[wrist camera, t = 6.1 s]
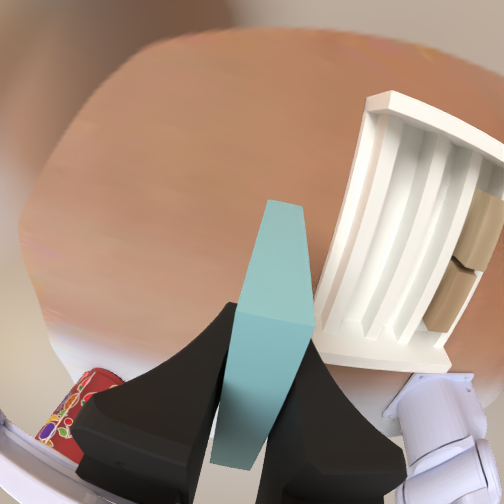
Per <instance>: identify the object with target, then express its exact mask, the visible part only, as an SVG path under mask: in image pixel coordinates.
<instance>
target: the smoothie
mask: <svg viewBox="0 0 504 504" xmlns="http://www.w3.org/2000/svg"><path fill="white" fill-rule="evenodd" d="M123 383H124V382H123V381H122V380H121V379H120V378H119V377H117V376H116V375H115V374H113V373H111V372H109V371H107V370H105V369H102V368H94V369H92V370H91V371H88V372H85V373H84V374H83V376H82V377H81V378H80V379H79V381H78V382H77V383H76V384H75V386H74V387H73V388H72V389H71V391H70V392H69V393H68V395H67V396H66V397H65V399H64V400H63V401H62V402H61V404H60V405H59V406H58V407H57V409H56V410H55V411H54V413H53V414H52V415H51V417H50V418H49V420H48V421H47V422H46V423H45V425H44V426H43V427H42V429H41V430H40V432H39V433H38V434H37V436H36V437H35V439H36V440H38V441H39V442H41V443H42V444H44V445H45V446H47V447H49V448H50V449H52V450H54V451H55V452H57V453H59V454H60V455H62V456H64V457H66V458H67V459H69V460H71V461H73V462H75V463H77V464H79V463H80V461H81V459H82V457H83V455H84V453H83V452H82V450H81V449H80V447H79V446H78V444H77V443H76V442H75V440H74V439H73V437H72V435H71V432H70V426H71V424H72V423H73V421H74V419H75V418H76V416H77V414H78V413H79V411H80V409H81V408H82V407H83V405H84V404H85V403H86V402H87V401H88V399H89V398H90V397H91V396H92V395H93V394H94V393H98V392H101V391H104V390H107V389H109V388H112V387H115V386H118V385H121V384H123Z"/></svg>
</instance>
